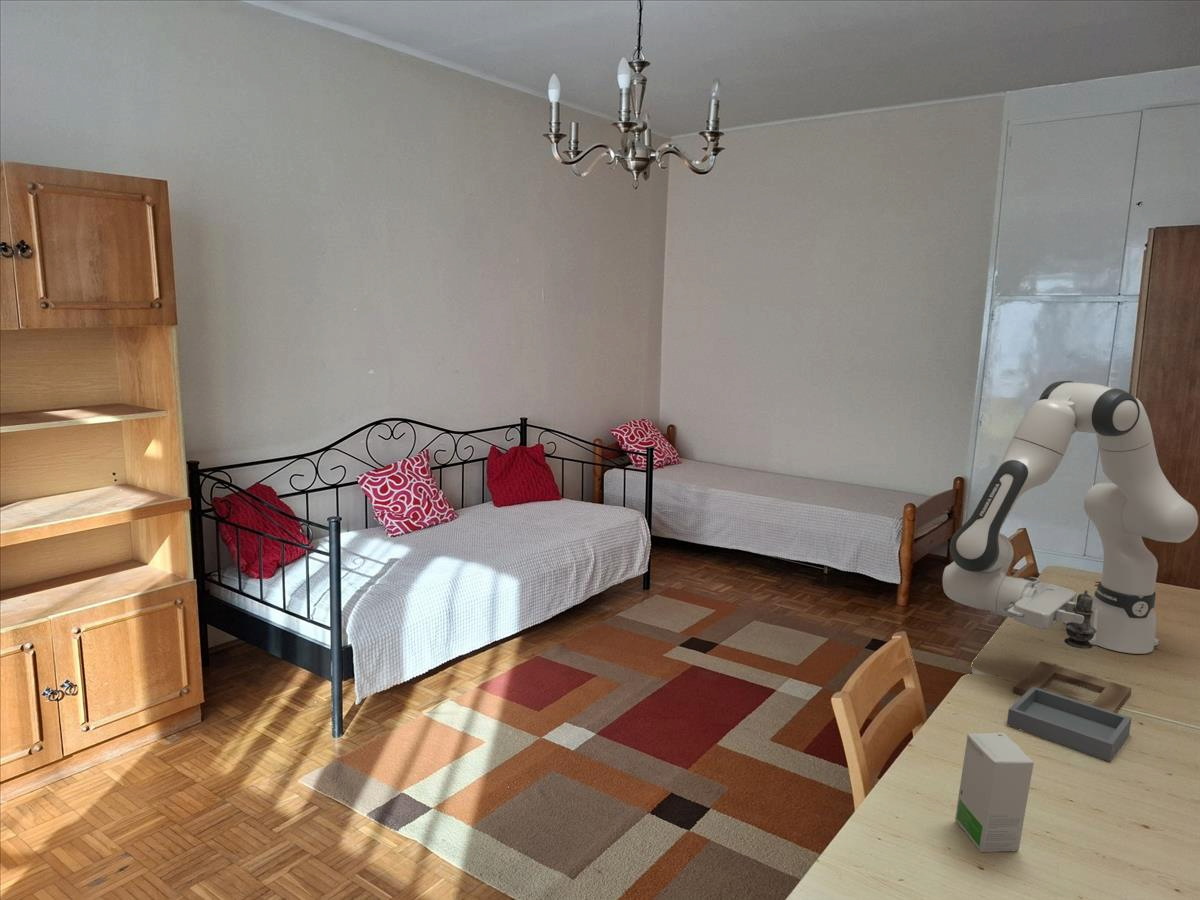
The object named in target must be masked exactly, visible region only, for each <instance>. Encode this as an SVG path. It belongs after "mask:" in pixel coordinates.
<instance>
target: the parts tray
mask: <svg viewBox="0 0 1200 900" xmlns="http://www.w3.org/2000/svg"><path fill="white" fill-rule="evenodd" d="M1007 712H1008V713H1007V719H1006V720H1007V721H1006V726H1007V725H1009V726H1008V727H1010V726H1012V727H1011V728H1013V727H1015V728H1014V729H1016V728H1017V729H1016V730H1019V729H1021V730H1023V731H1022V732H1024V731H1025V733H1027V732H1028V733H1027V734H1030V735H1033V736H1036V737H1038V738H1042V739H1044V740H1047V741H1050V742H1053V743H1056V744H1059V745H1060V746H1064V747H1067V748H1070V749H1073V750H1075V751H1078V752H1081V753H1084V754H1086V755H1089V756H1092V757H1095V758H1097V759H1100V760H1103V761H1106V762H1108V763H1109V762H1110V763H1111V761H1112V760H1113V758H1115V757H1114V756H1115V755H1116V754H1117V752H1118V751H1119V750H1120V749H1121V747H1122V745H1123V744H1124V743H1125V741H1126V740H1127V738H1128V737H1129V736H1130V733H1131V732H1130V731H1131V725H1132V719H1133V718H1132V717H1131V716H1127V715H1124V714H1121V713H1118V712H1117V713H1115V712H1112V711H1108V710H1105V709H1102V708H1099V707H1096V706H1093V705H1090V704H1086V703H1083V702H1080V701H1077V700H1074V699H1071V698H1068V697H1064V696H1061V695H1058V694H1055V693H1052V692H1049V691H1046V690H1043V689H1039V688H1036V687H1033V686H1032V687H1031V688H1030V689H1029V690H1028V691H1027V692H1026V693H1025V694H1024V695H1023V696H1021V697H1020V698H1018V699H1017V700H1016V701H1015V702H1014V703H1013V704H1012V705H1011V706H1010V707H1009V708H1008V711H1007ZM1021 730H1020V731H1021Z"/></svg>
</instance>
